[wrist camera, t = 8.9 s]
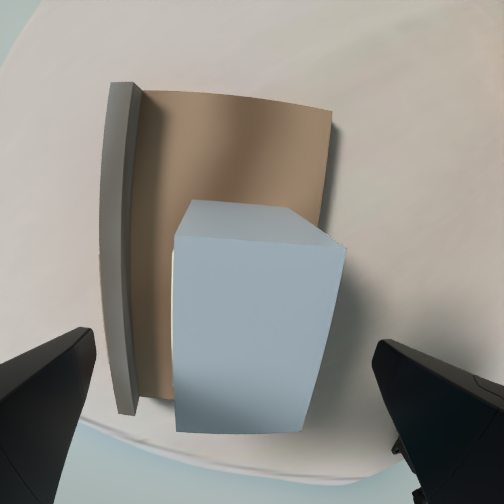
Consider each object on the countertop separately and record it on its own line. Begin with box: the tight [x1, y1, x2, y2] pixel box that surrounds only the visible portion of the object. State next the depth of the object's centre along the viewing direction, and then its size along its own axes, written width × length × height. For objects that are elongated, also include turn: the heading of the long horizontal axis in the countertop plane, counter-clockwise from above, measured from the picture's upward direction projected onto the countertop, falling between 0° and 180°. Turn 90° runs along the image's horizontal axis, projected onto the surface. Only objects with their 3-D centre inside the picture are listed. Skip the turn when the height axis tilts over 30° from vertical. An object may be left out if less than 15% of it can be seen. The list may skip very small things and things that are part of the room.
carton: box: [171, 199, 347, 434], centre depth 12 cm, size 5×7×7 cm
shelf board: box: [99, 82, 332, 416], centre depth 15 cm, size 10×17×3 cm, turn 174°
